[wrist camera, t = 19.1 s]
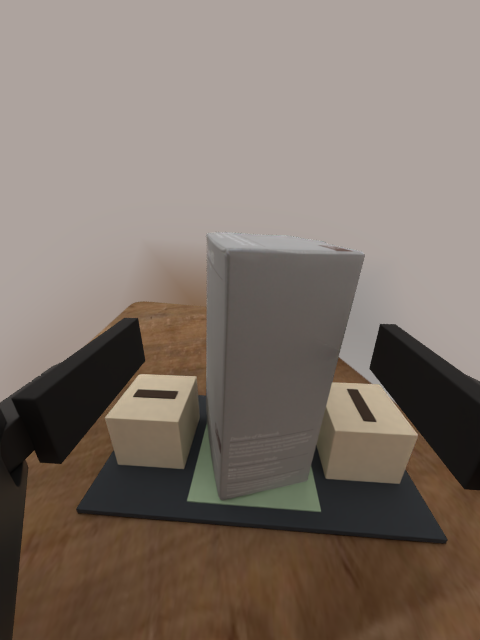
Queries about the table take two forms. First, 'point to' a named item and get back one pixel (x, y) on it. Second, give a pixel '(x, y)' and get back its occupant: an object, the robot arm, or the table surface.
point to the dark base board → (275, 504)
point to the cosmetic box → (272, 353)
